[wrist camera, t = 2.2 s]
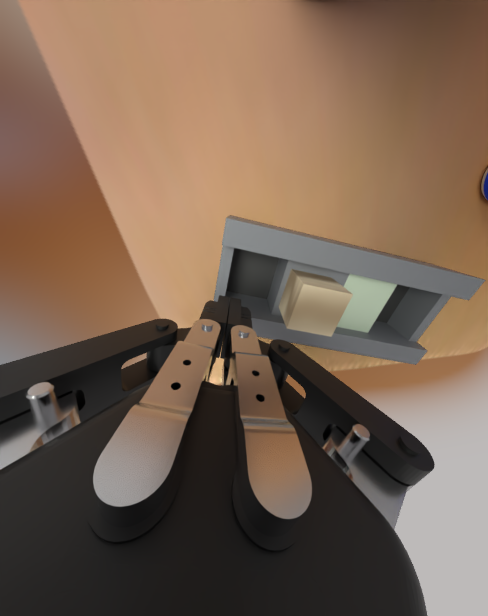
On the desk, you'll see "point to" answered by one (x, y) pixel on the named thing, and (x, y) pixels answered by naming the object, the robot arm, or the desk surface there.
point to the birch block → (313, 303)
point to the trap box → (347, 272)
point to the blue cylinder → (485, 184)
